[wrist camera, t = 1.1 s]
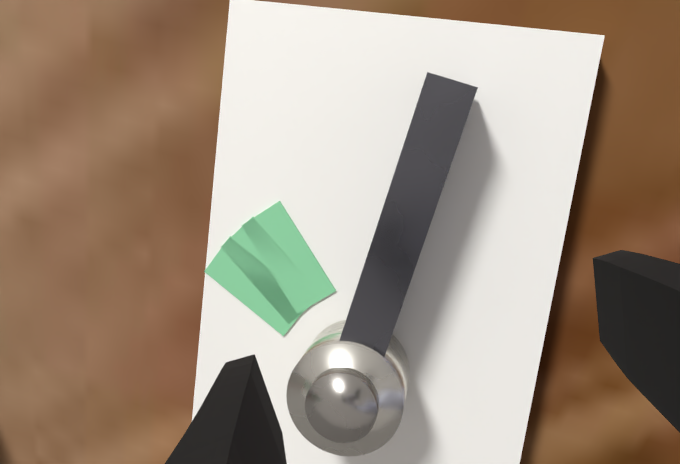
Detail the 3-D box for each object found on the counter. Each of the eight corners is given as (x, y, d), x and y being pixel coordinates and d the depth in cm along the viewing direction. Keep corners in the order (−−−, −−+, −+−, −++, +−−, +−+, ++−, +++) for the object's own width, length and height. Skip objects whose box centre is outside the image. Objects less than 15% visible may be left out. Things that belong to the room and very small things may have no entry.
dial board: (594, 42, 22) (605, 34, 20) (472, 667, 26) (472, 701, 25) (243, 6, 24) (229, -3, 22) (188, 590, 28) (172, 617, 27)
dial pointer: (390, 434, 23) (379, 483, 20) (293, 397, 24) (267, 438, 21) (510, 103, 21) (519, 97, 17) (398, 69, 21) (386, 57, 18)
